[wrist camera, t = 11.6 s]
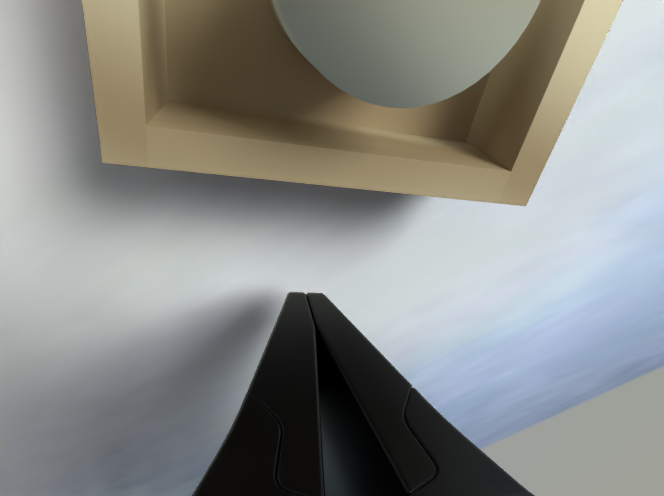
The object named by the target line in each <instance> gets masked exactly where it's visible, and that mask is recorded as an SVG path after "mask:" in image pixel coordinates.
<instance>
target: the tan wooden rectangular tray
mask: <svg viewBox="0 0 664 496" xmlns="http://www.w3.org/2000/svg"><path fill="white" fill-rule="evenodd" d="M622 1H623V0H82V5H83V13H84V21H85V29H86V37H87V45H88V53H89V61H90V69H91V77H92V85H93V93H94V101H95V109H96V117H97V125H98V133H99V141H100V149H101V157H102V163H109V164H119V165H129V166H139V167H148V168H158V169H168V170H178V171H187V172H197V173H207V174H217V175H227V176H236V177H246V178H256V179H266V180H275V181H285V182H295V183H305V184H315V185H324V186H334V187H344V188H354V189H364V190H373V191H383V192H393V193H403V194H412V195H422V196H432V197H442V198H452V199H461V200H471V201H481V202H491V203H500V204H510V205H520V206H526V205H527V203H528V200H529V198H530V196H531V194H532V192H533V190H534V188H535V186H536V184H537V181H538V179H539V177H540V175H541V173H542V171H543V169H544V167H545V164H546V162H547V160H548V158H549V156H550V154H551V152H552V150H553V148H554V145H555V143H556V141H557V139H558V137H559V135H560V133H561V131H562V128H563V126H564V124H565V122H566V120H567V118H568V116H569V114H570V112H571V109H572V107H573V105H574V103H575V101H576V99H577V97H578V95H579V92H580V90H581V88H582V86H583V84H584V82H585V80H586V78H587V76H588V73H589V71H590V69H591V67H592V65H593V63H594V61H595V59H596V57H597V54H598V52H599V50H600V48H601V46H602V44H603V42H604V40H605V37H606V35H607V33H608V31H609V29H610V27H611V25H612V23H613V21H614V18H615V16H616V14H617V12H618V10H619V8H620V6H621V4H622Z"/></svg>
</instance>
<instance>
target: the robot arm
mask: <svg viewBox="0 0 664 496" xmlns="http://www.w3.org/2000/svg"><path fill="white" fill-rule="evenodd" d="M411 388H412V385H411V384H410V383H409V382H408V381H407V380H406V379H405V378H404V377H403V376H402V375H401V374H400V372H399V371H398V370H397V369H396V368H395V367H394V366H393V365H392V364H391V363H390V362H389V361H388V360H387V359H386V358H385V357H384V356H383V355H382V354H381V353H380V352H379V351H378V350H377V349H376V348H375V347H374V346H373V345H372V343H371V342H370V341H369V340H368V339H367V338H366V337H365V336H364V335H363V334H362V333H361V332H360V331H359V330H358V329H357V328H356V327H355V326H354V325H353V324H352V323H351V322H350V321H349V320H348V319H347V318H346V317H345V316H344V314H343V313H342V312H341V311H340V310H339V309H338V308H337V307H336V306H335V305H334V304H333V303H332V302H331V301H330V300H329V299H328V298H327V297H326V296H325V295H324V294H322V293H307V294H305V293H303V292H289V293H288V294H287V297H286V299H285V302H284V304H283V306H282V309H281V311H280V314H279V316H278V318H277V321H276V323H275V326H274V328H273V331H272V333H271V335H270V338H269V340H268V343H267V345H266V348H265V350H264V352H263V355H262V357H261V360H260V362H259V364H258V367H257V369H256V372H255V374H254V377H253V379H252V381H251V384H250V386H249V389H248V392H247V393H246V395H245V398H244V400H243V403H242V405H241V407H240V410H239V412H238V414H237V416H236V418H235V420H234V423H233V425H232V427H231V429H230V431H229V433H228V435H227V436H226V438H225V440H224V442H223V444H222V446H221V447H220V449H219V451H218V453H217V455H216V456H215V458H214V460H213V461H212V463H211V465H210V466H209V468H208V470H207V471H206V473H205V475H204V476H203V478H202V480H201V481H200V483H199V485H198V487H197V488H196V490H195V492H194V493H193V495H192V496H535V495H533V494H532V493H530V492H529V491H528V490H526V489H525V488H524V487H523V486H522V485H520V484H519V483H518V482H517V481H516V480H514V479H513V478H512V477H511V476H510V475H509V474H508V473H506V472H505V471H504V470H503V469H502V468H500V467H499V466H498V465H497V464H496V463H495V462H494V461H493V460H491V459H490V458H489V457H488V456H487V455H486V454H485V453H483V452H482V451H481V450H480V449H479V448H478V447H476V446H475V445H474V444H473V443H472V442H471V441H470V440H468V439H467V438H466V437H465V436H464V435H463V434H462V433H461V432H459V431H458V430H457V429H456V428H455V427H454V426H453V425H452V424H451V423H449V422H448V421H447V420H446V419H445V418H444V417H443V416H442V415H441V414H440V413H439V412H438V411H437V410H436V409H435V408H434V407H433V406H432V405H431V404H430V403H429V402H428V401H427V400H426V399H425V398H424V397H423V396H422V395H421V394H420V393H419V392H418V391H417V390H416V389H415V388H412V389H411Z"/></svg>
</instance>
